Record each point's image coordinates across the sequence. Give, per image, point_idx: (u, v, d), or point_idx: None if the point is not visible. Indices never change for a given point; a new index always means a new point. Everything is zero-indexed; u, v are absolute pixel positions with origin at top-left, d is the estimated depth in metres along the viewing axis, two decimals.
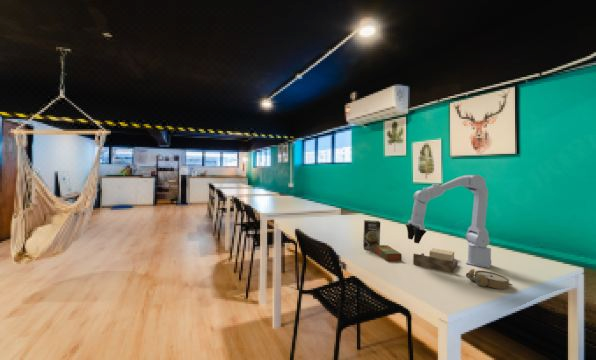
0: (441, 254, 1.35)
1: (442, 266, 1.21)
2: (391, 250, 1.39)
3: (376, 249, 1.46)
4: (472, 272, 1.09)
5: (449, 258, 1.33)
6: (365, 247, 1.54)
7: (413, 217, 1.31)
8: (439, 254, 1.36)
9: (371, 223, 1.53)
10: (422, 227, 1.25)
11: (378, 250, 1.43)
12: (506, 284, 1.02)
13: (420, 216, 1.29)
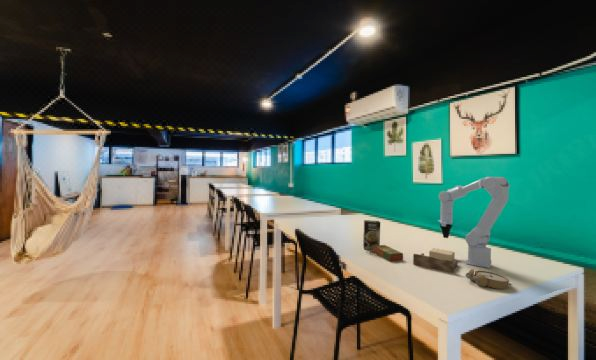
0: (441, 254, 1.36)
1: (442, 266, 1.21)
2: (392, 250, 1.39)
3: (375, 249, 1.45)
4: (472, 272, 1.09)
5: (449, 258, 1.33)
6: (365, 247, 1.54)
7: None
8: (439, 254, 1.36)
9: (371, 223, 1.53)
10: (442, 224, 1.40)
11: (378, 250, 1.42)
12: (505, 283, 1.02)
13: (445, 214, 1.43)
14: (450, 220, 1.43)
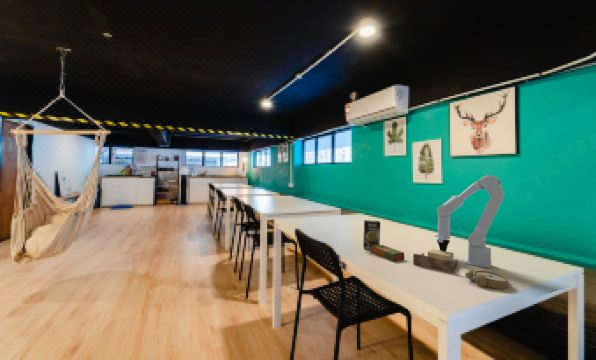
0: (439, 255, 1.34)
1: (442, 266, 1.21)
2: (392, 250, 1.40)
3: (374, 249, 1.44)
4: (471, 272, 1.09)
5: (447, 259, 1.32)
6: (365, 247, 1.54)
7: None
8: (437, 255, 1.35)
9: (371, 223, 1.53)
10: (439, 240, 1.36)
11: (379, 250, 1.42)
12: (505, 283, 1.02)
13: (442, 230, 1.39)
14: (447, 236, 1.38)
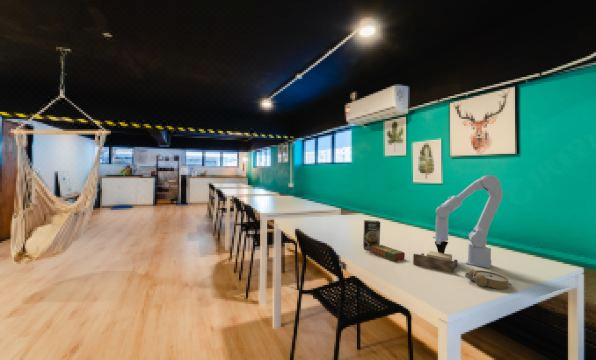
0: (438, 257, 1.30)
1: (442, 266, 1.21)
2: (392, 250, 1.40)
3: (374, 250, 1.44)
4: (471, 272, 1.09)
5: None
6: (365, 247, 1.54)
7: None
8: (436, 257, 1.31)
9: (371, 223, 1.53)
10: (437, 241, 1.32)
11: (379, 251, 1.41)
12: (505, 283, 1.02)
13: (440, 231, 1.35)
14: (445, 237, 1.35)
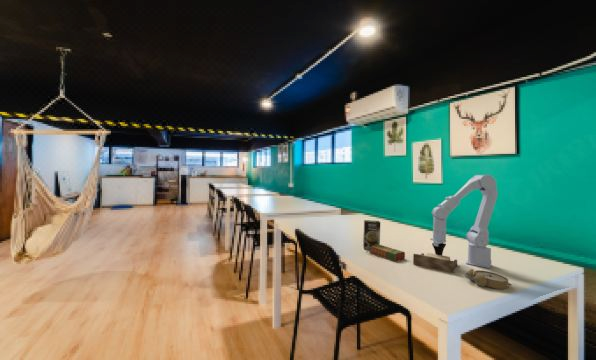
0: None
1: (442, 266, 1.21)
2: (392, 249, 1.40)
3: (374, 250, 1.44)
4: (471, 272, 1.09)
5: None
6: (365, 247, 1.54)
7: (433, 234, 1.34)
8: None
9: (371, 223, 1.53)
10: (435, 243, 1.28)
11: (379, 251, 1.41)
12: (505, 283, 1.02)
13: (438, 233, 1.31)
14: (443, 239, 1.31)
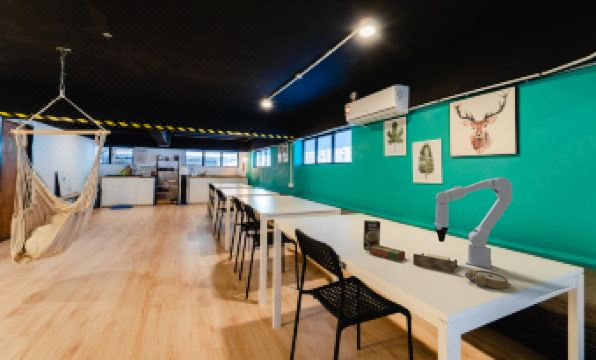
0: None
1: (442, 266, 1.21)
2: (392, 249, 1.41)
3: (374, 250, 1.43)
4: (471, 272, 1.09)
5: None
6: (365, 247, 1.54)
7: (436, 218, 1.38)
8: None
9: (371, 223, 1.53)
10: (438, 227, 1.32)
11: (380, 251, 1.40)
12: (504, 283, 1.02)
13: (440, 217, 1.35)
14: (446, 223, 1.34)
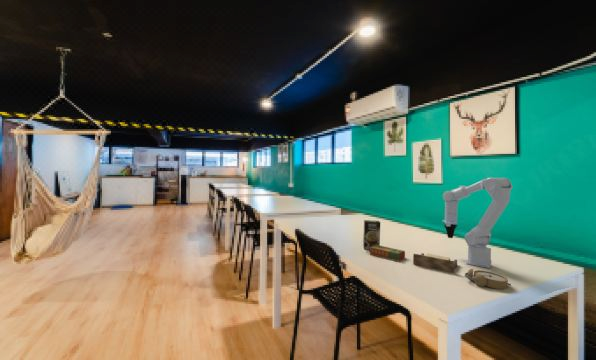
0: None
1: (442, 266, 1.21)
2: (392, 249, 1.41)
3: (374, 251, 1.42)
4: (471, 272, 1.09)
5: None
6: (365, 247, 1.54)
7: (445, 216, 1.46)
8: None
9: (371, 223, 1.53)
10: (447, 224, 1.40)
11: (380, 251, 1.40)
12: (504, 283, 1.02)
13: (450, 214, 1.43)
14: (455, 220, 1.42)
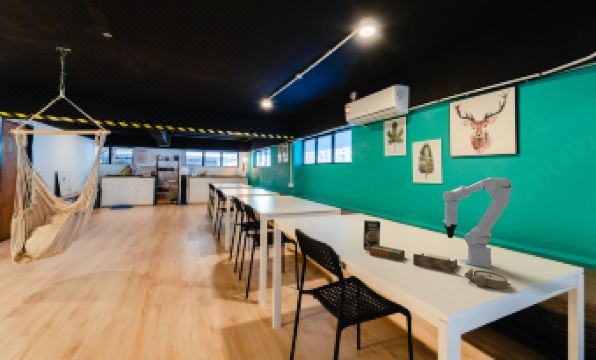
0: None
1: (442, 266, 1.21)
2: (392, 249, 1.41)
3: (375, 251, 1.42)
4: (471, 272, 1.09)
5: None
6: (365, 247, 1.54)
7: (445, 216, 1.46)
8: None
9: (371, 223, 1.53)
10: (447, 224, 1.40)
11: (380, 252, 1.40)
12: (504, 283, 1.02)
13: (450, 214, 1.43)
14: (455, 220, 1.42)
